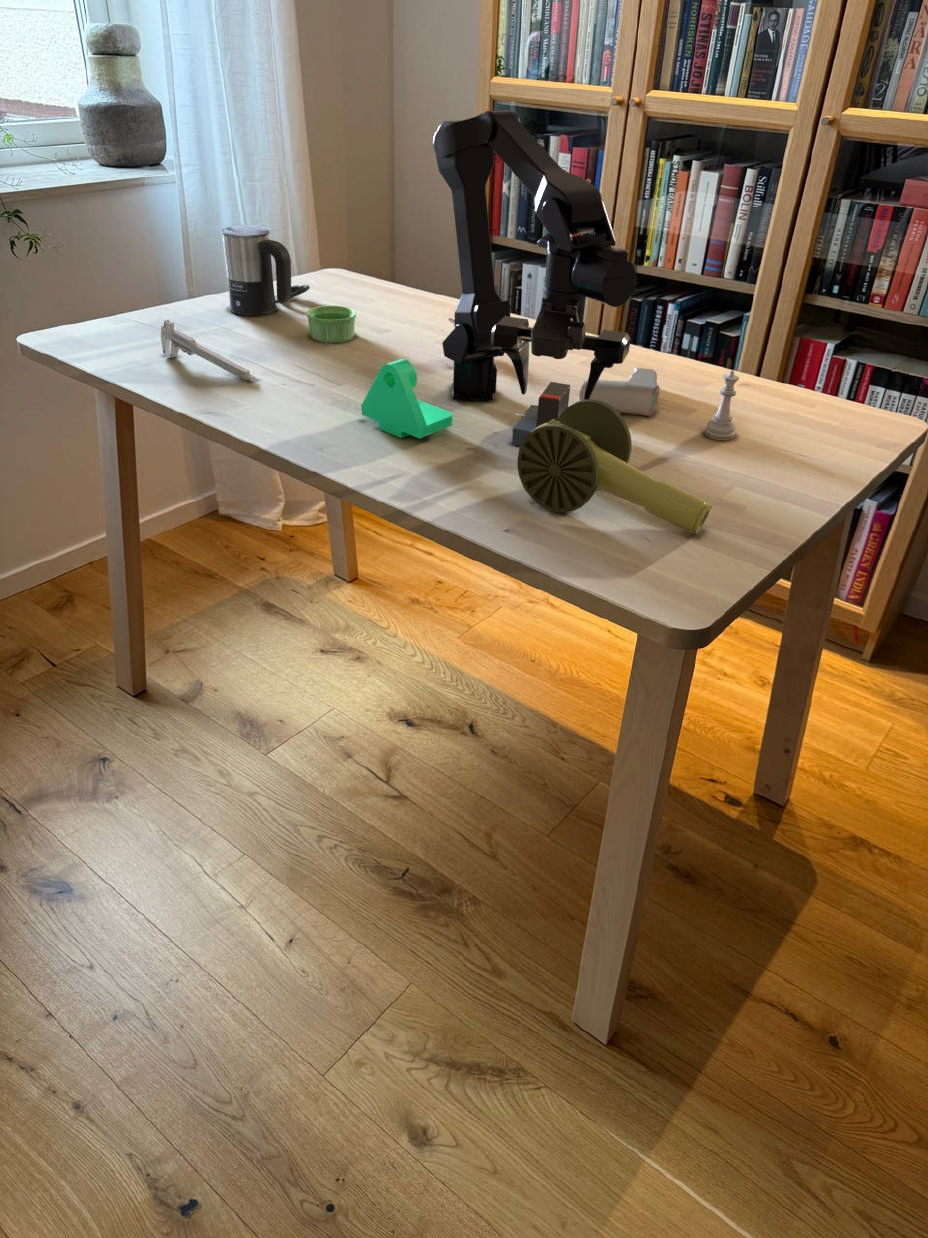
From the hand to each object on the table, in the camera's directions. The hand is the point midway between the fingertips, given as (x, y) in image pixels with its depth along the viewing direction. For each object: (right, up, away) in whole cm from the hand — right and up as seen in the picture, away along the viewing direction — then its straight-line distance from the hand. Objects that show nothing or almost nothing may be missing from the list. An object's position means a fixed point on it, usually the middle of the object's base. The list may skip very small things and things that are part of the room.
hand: (554, 398), depth 136 cm
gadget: (0, -3, +2) cm, 3 cm away
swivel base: (+1, -5, +3) cm, 6 cm away
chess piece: (+25, -4, +7) cm, 27 cm away
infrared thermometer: (+12, +4, +18) cm, 22 cm away
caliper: (-56, +10, +22) cm, 61 cm away
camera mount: (-21, -3, +5) cm, 22 cm away
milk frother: (-52, +31, +52) cm, 80 cm away
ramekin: (-37, +20, +38) cm, 57 cm away
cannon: (+6, -18, -14) cm, 24 cm away
